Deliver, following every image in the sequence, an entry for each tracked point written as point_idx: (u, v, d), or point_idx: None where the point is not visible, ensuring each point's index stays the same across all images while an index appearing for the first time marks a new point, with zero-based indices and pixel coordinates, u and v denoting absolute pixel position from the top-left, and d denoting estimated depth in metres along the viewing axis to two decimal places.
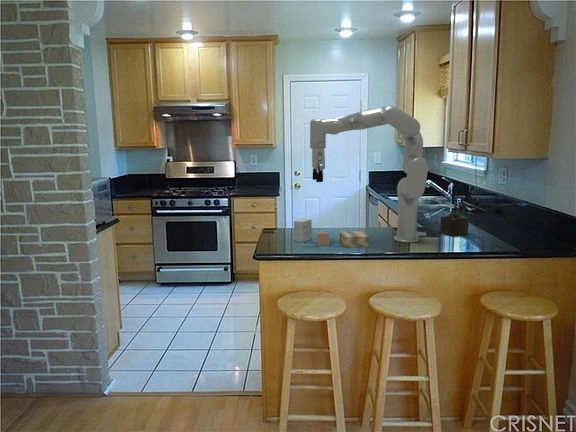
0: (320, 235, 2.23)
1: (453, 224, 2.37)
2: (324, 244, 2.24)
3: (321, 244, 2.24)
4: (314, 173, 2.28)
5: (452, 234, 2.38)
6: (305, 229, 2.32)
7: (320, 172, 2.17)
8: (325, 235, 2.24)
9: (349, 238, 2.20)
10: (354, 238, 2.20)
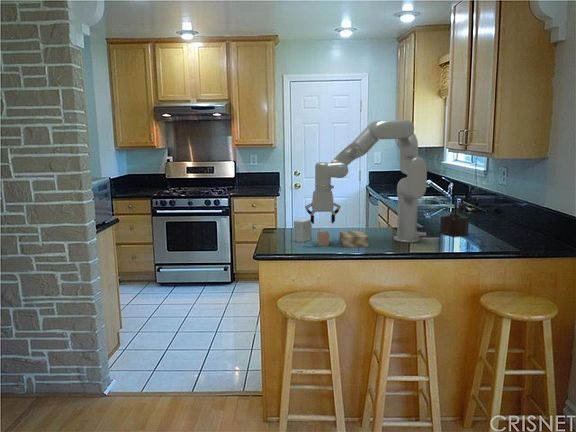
0: (320, 235, 2.23)
1: (453, 224, 2.37)
2: (324, 244, 2.24)
3: (321, 244, 2.24)
4: (313, 217, 2.23)
5: (452, 234, 2.38)
6: (305, 229, 2.32)
7: None
8: (325, 235, 2.24)
9: (349, 238, 2.20)
10: (354, 238, 2.20)
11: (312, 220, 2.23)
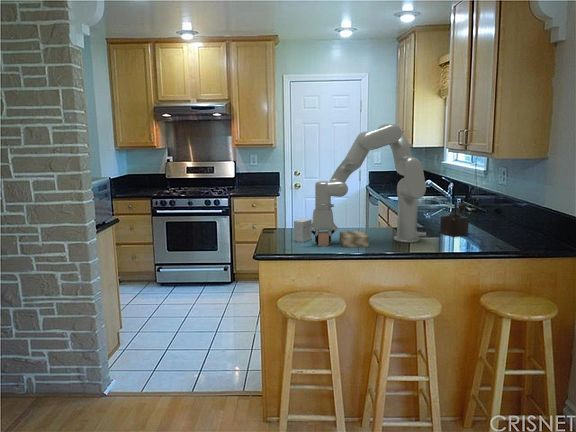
0: (320, 235, 2.23)
1: (453, 224, 2.37)
2: (324, 244, 2.24)
3: (321, 244, 2.24)
4: None
5: (452, 234, 2.38)
6: (305, 229, 2.32)
7: None
8: (325, 235, 2.24)
9: (349, 238, 2.20)
10: (354, 238, 2.20)
11: (316, 240, 2.25)
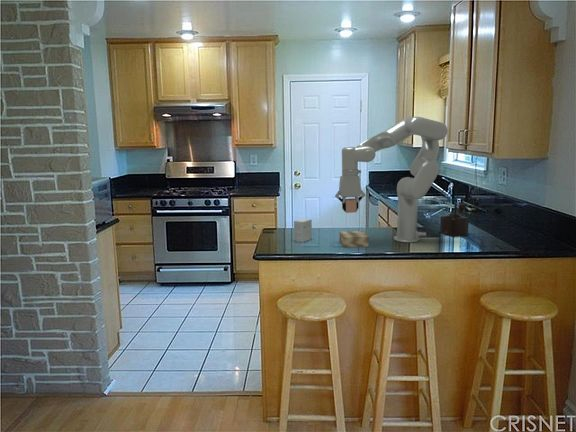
0: (347, 202, 2.20)
1: (453, 224, 2.37)
2: (352, 211, 2.21)
3: (349, 211, 2.21)
4: (345, 204, 2.22)
5: (452, 234, 2.38)
6: (305, 229, 2.32)
7: None
8: (353, 202, 2.20)
9: (349, 238, 2.20)
10: (354, 238, 2.20)
11: (344, 208, 2.22)
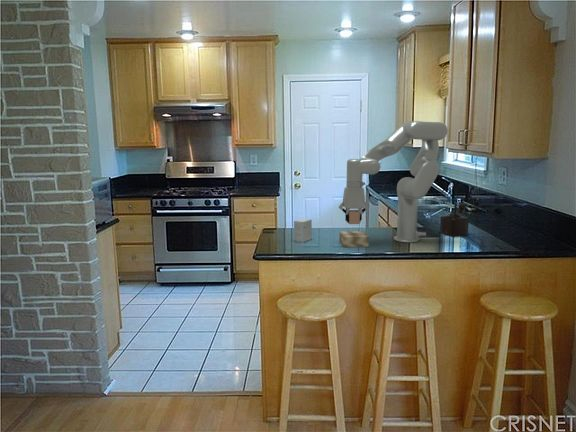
0: (351, 213, 2.21)
1: (453, 224, 2.37)
2: (355, 222, 2.22)
3: (352, 222, 2.22)
4: (348, 216, 2.23)
5: (452, 234, 2.38)
6: (305, 229, 2.32)
7: None
8: (356, 213, 2.21)
9: (349, 238, 2.20)
10: (354, 238, 2.20)
11: (347, 219, 2.23)
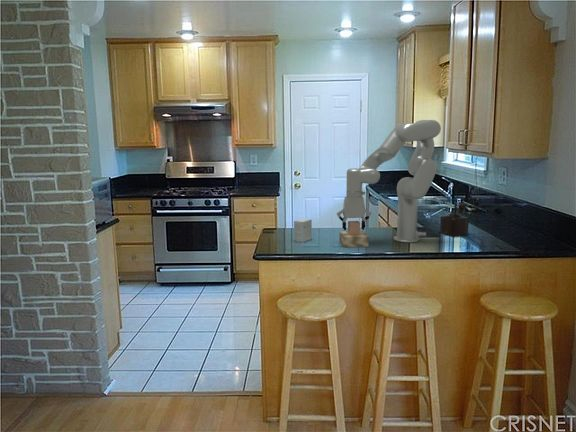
0: (351, 224, 2.22)
1: (453, 224, 2.37)
2: (355, 233, 2.23)
3: (352, 233, 2.23)
4: (345, 223, 2.24)
5: (452, 234, 2.38)
6: (305, 229, 2.32)
7: None
8: (356, 224, 2.22)
9: (349, 238, 2.20)
10: (354, 238, 2.20)
11: (344, 227, 2.24)
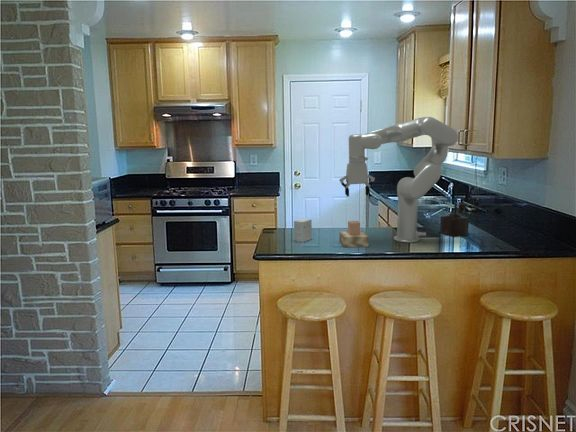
0: (351, 224, 2.22)
1: (453, 224, 2.37)
2: (355, 233, 2.23)
3: (352, 233, 2.23)
4: None
5: (452, 234, 2.38)
6: (305, 229, 2.32)
7: None
8: (356, 224, 2.22)
9: (349, 238, 2.20)
10: (354, 238, 2.20)
11: (347, 193, 2.23)
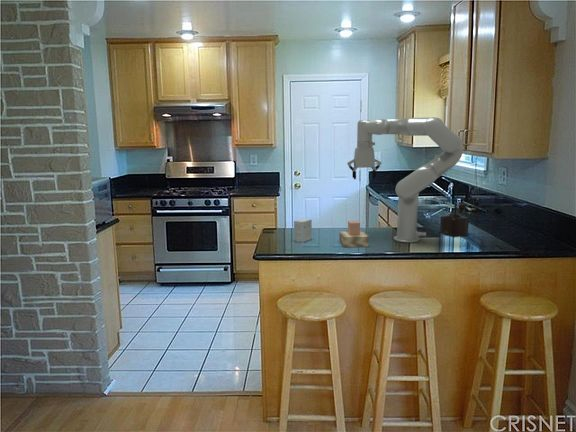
0: (351, 224, 2.22)
1: (453, 224, 2.37)
2: (355, 233, 2.23)
3: (352, 233, 2.23)
4: None
5: (452, 234, 2.38)
6: (305, 229, 2.32)
7: None
8: (356, 224, 2.22)
9: (349, 238, 2.20)
10: (354, 238, 2.20)
11: (354, 176, 2.34)
